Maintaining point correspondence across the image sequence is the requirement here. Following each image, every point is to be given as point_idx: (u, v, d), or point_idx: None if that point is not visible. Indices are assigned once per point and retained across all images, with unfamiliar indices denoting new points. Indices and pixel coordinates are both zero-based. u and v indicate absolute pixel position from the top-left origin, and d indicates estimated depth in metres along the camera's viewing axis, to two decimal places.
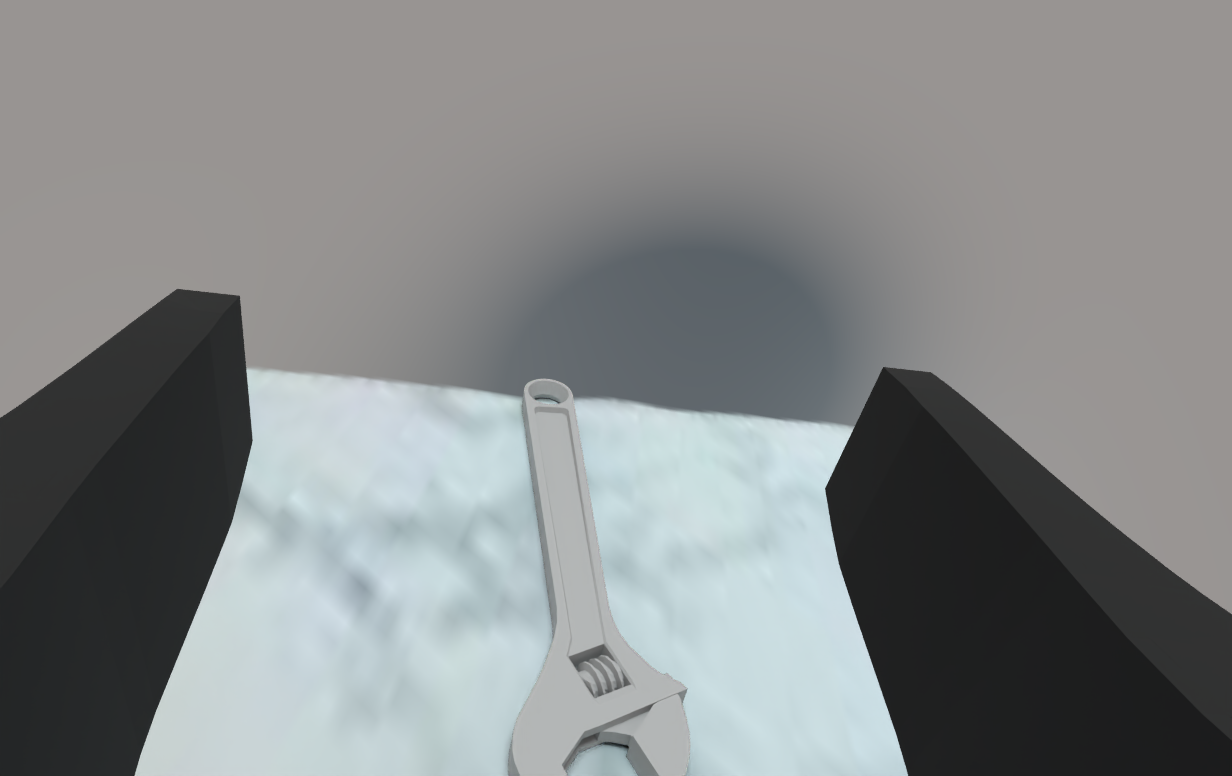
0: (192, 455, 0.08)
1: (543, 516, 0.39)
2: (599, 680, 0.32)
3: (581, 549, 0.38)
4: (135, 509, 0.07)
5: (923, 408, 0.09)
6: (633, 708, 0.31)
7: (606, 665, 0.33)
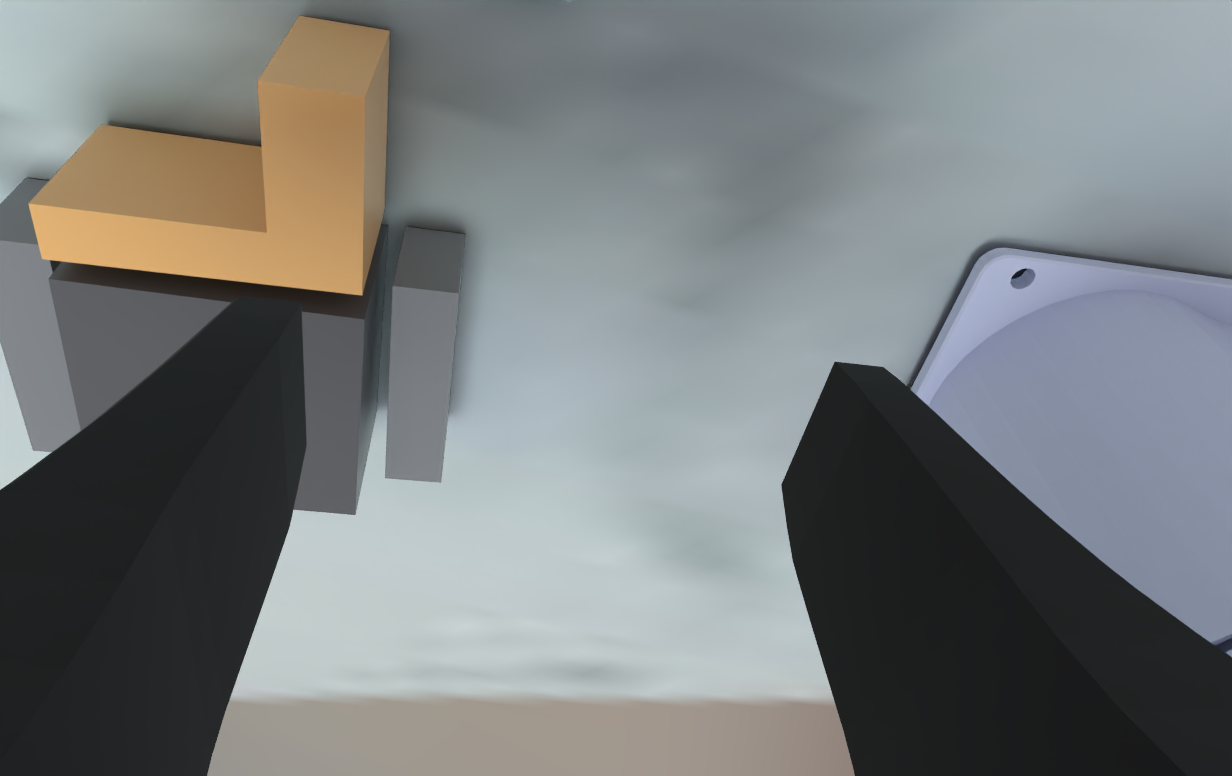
0: (261, 461, 0.08)
1: None
2: None
3: None
4: (215, 515, 0.07)
5: (870, 402, 0.09)
6: None
7: None
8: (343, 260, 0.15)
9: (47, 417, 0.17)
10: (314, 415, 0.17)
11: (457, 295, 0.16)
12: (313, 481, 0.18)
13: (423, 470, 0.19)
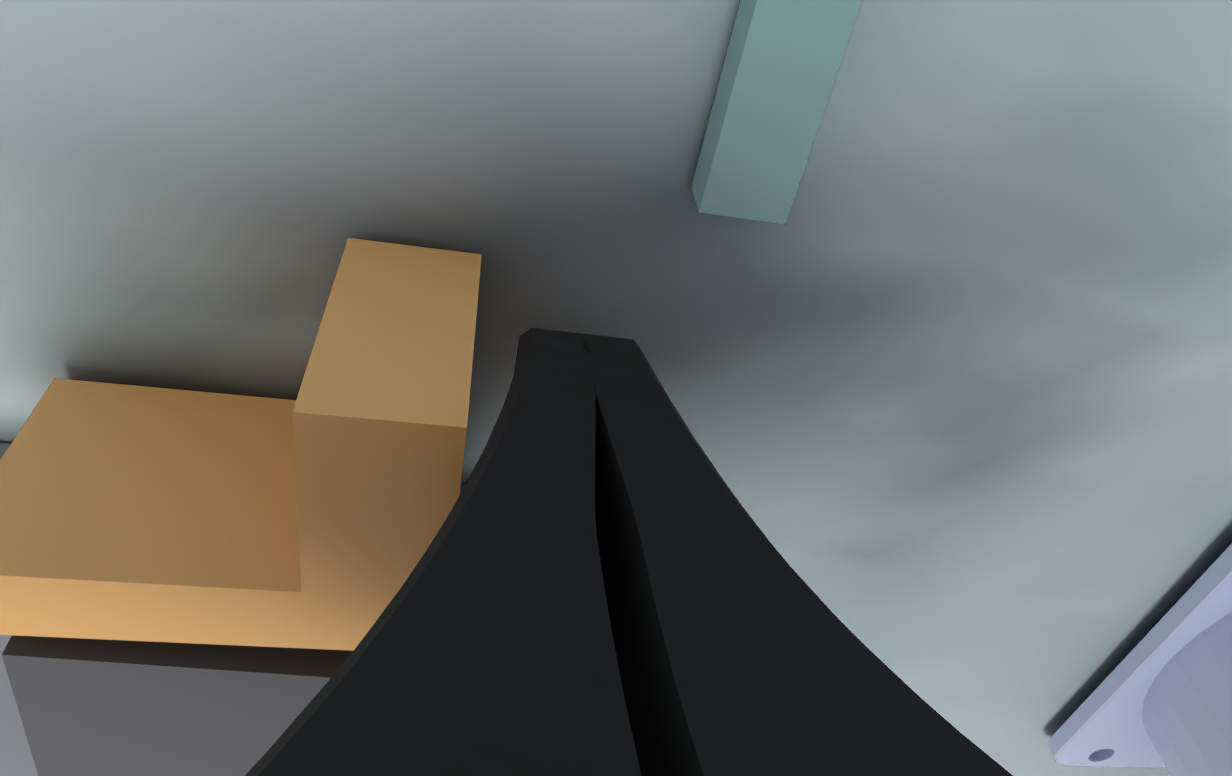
0: None
1: None
2: None
3: None
4: None
5: (589, 374, 0.09)
6: None
7: None
8: None
9: (6, 756, 0.13)
10: None
11: None
12: None
13: None
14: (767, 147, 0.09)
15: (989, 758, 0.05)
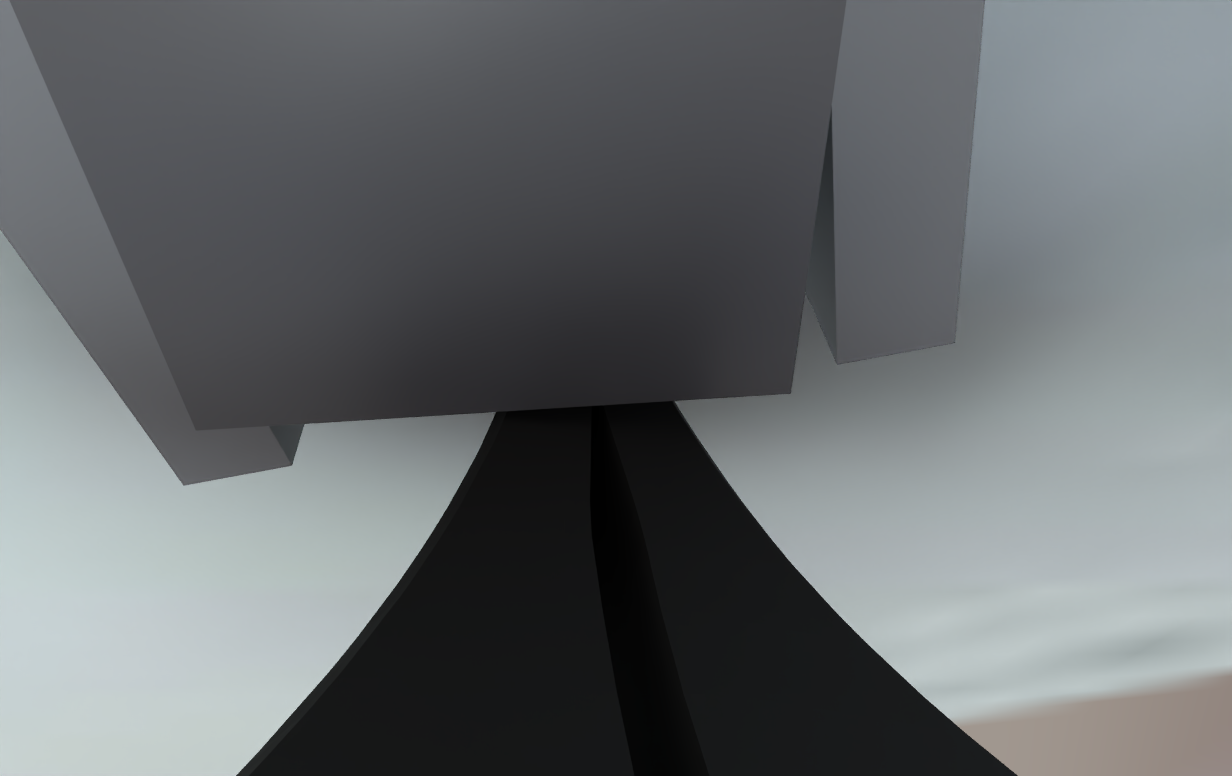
0: None
1: None
2: None
3: None
4: None
5: None
6: None
7: None
8: None
9: (179, 412, 0.09)
10: (709, 94, 0.06)
11: None
12: (698, 314, 0.07)
13: (917, 324, 0.09)
14: None
15: (994, 758, 0.05)
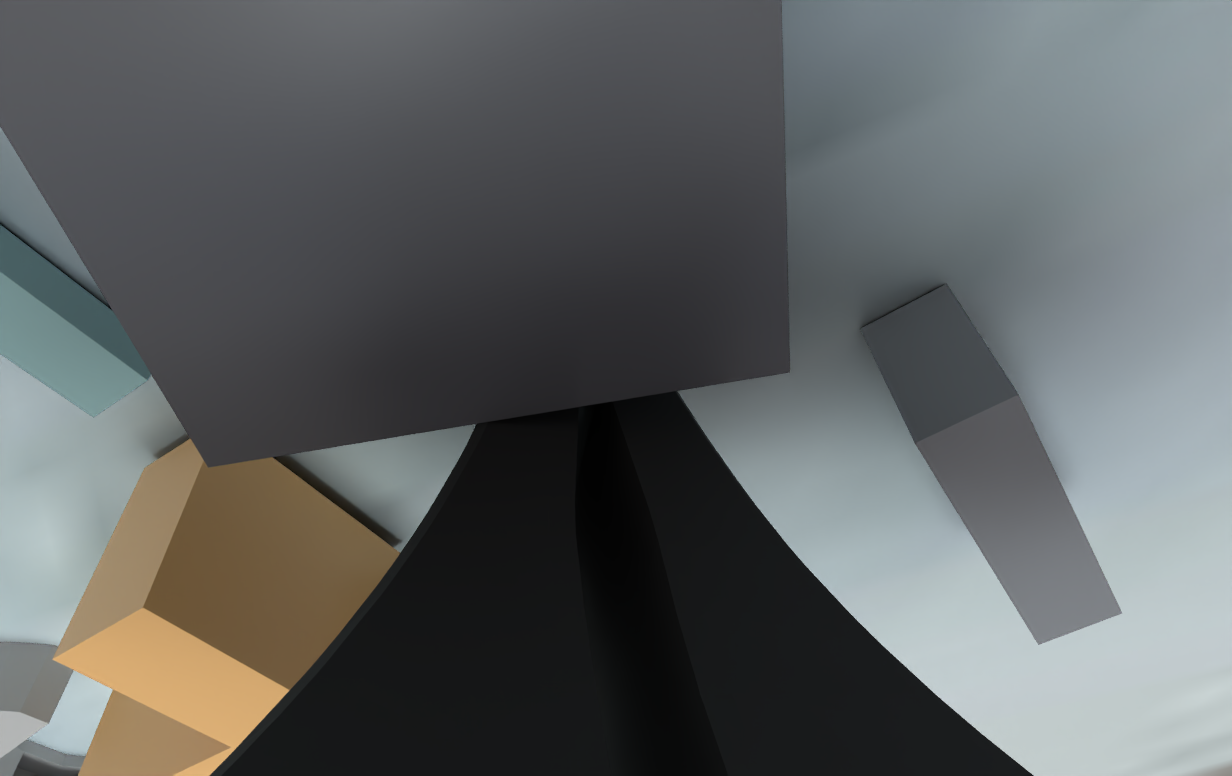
0: None
1: None
2: None
3: None
4: None
5: None
6: None
7: None
8: None
9: None
10: (657, 76, 0.06)
11: (1018, 397, 0.10)
12: (681, 302, 0.07)
13: (1088, 612, 0.12)
14: None
15: (1010, 759, 0.05)
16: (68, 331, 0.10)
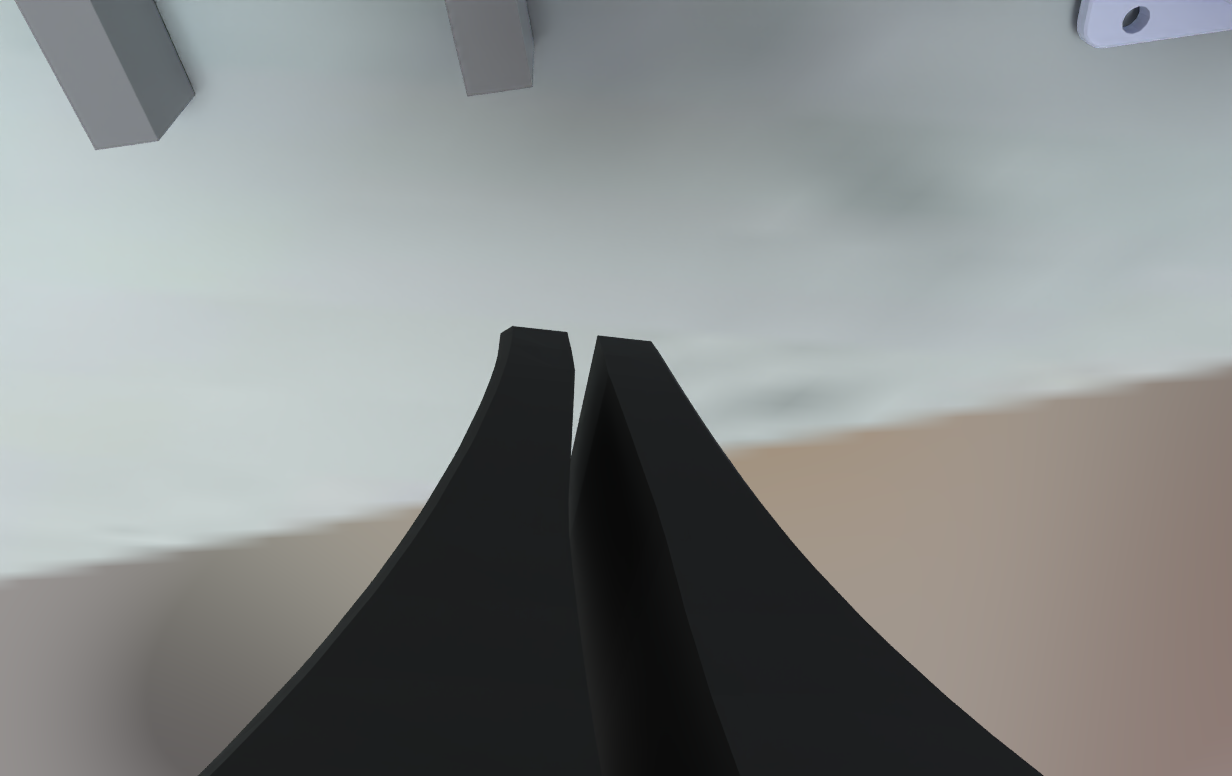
0: None
1: None
2: None
3: None
4: None
5: (609, 376, 0.09)
6: None
7: None
8: None
9: (92, 96, 0.16)
10: None
11: None
12: None
13: (507, 72, 0.16)
14: None
15: (1020, 759, 0.05)
16: None
